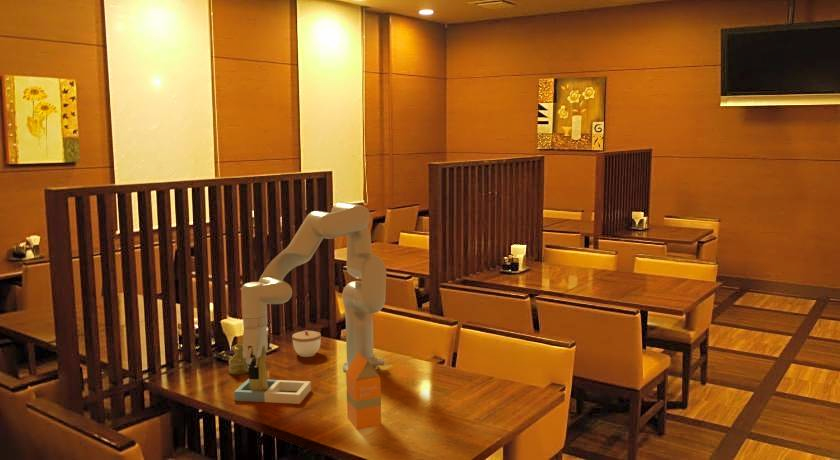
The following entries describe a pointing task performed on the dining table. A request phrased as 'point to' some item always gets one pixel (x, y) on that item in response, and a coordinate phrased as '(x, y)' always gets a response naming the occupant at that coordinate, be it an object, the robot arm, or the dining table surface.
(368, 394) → the orange juice
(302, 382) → the pocket rack
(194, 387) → the dining table surface
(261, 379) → the vase
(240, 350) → the olive bulbous piece
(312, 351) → the lidded jar
